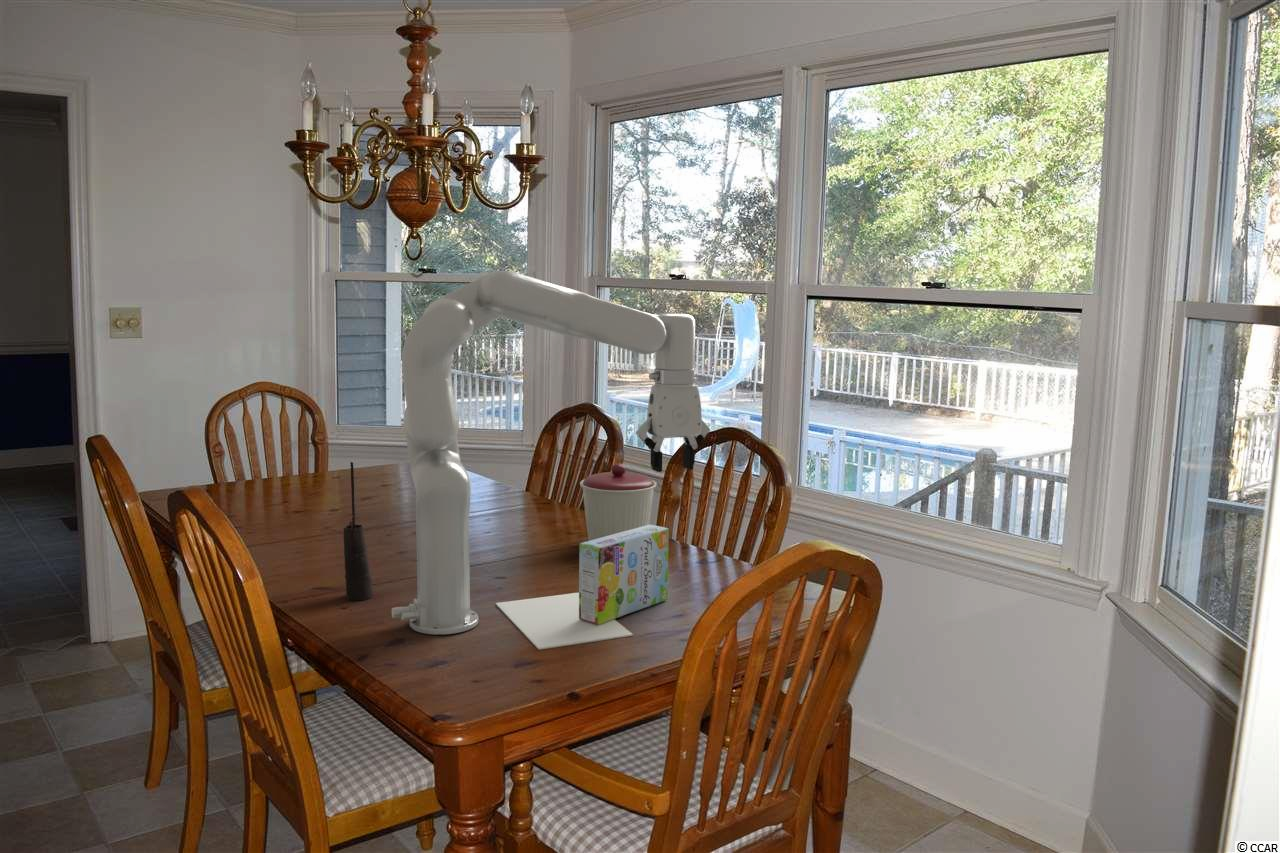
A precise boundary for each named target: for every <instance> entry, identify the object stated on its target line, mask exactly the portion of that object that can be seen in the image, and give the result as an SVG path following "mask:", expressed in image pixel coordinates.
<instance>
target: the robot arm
mask: <svg viewBox="0 0 1280 853" xmlns="http://www.w3.org/2000/svg"><path fill="white" fill-rule="evenodd" d="M500 318H502V319H506V320H509V321H513V322H517V323H520V324H524V325H527V326H531V327H535V328H537V329H542V330H545V331H549V332H552V333H555V334H558V335H559V334H560V335H563V336H566V337H567V336H568V337H571V338H577V339H585V340H588V341H593V342H598V343H601V344H602V343H603V344H606V345H609V346H613V347H617V348H620V349H623V350H625V351H629V352H632V353H638V354H641V355H651V354H654V353H655V364H654V366H655V368H654V369H653V370H654V371H653V372H649V374H648V379H649V380H653V382H654V384H652V385H651V389H650V393H649V398H648V404H647V415H646V420H645V421H644V422H643V423H642V425H640V427H638V429H636V431H635V435H636V436H637V437H638V438H639V439H640V440H641V441H642V442H643V443H644V445H646V446H647V448H648V449H649V450H650V467H651V470H653V471H655V472H656V473H661V472H662V471H663V451H661V447H662V445H663V442H664V440H665V439H674V438H683V441H684V444H685V446H684V447H683V449H682V467H683V468H685V469H687V470H690V471H691V470H692V471H693V469H694V465H695V463H696V462H695V459H696V458H695V457H696V455H695V454H696V450H697V448H698V447H699V446H698V445H700V444H701V442H702V441H703V440H704V438H705V437H706V436H707V435H708V433H709V432H710V431H711V429H710V427H709V425H707V424H706V423H705V422H704V420H703V417H702V416H703V415H702V402H701V396H700V390H699V386H698V384H695V356H696V354H695V353H696V352H695V350H696V346H695V344H696V319H695V318H694V316H693V315H691V314H687V313H662V314H652V313H649V312H645V311H642V310H638V309H635V308H632V307H629V306H625V305H622V304H619V303H614V302H611V301H608V300H605V299H601V298H598V297H596V296H592V295H591V294H588V293H585V292H582V291H579V290H576V289H573V288H570V287H565V286H562V285H559V284H555V283H551V282H548V281H546V280H545V281H544V280H543V279H538V278H535V277H531V276H528V275H525V274H521V273H517V272H515V271H510V270H495V271H494V270H493V271H491V272H488V273H486V274H484V275H482V276H481V277H479V278H477V279H475V280H474V281H472V282H469V283H468V284H467V283H466V285H463V286H461V287H460V288H457V289H456V290H454V291H451V292H450V293H447V294H445V295H443V296H442V297H439V298H437V299H434V301H432V302H431V303H429V304H428V306H427V307H425V310H424V312H423V314H422V316H421V317H419V319H418V320H417V321H416V322H415V323H414V324H413V326H412V327H411V329H410V330H409V333H408V334H407V336H406V339H405V341H404V343H403V348H402V353H401V369H402V370H401V371H402V380H403V388H404V397H405V403H406V405H405V406H406V407H405V410H404V413H403V426H404V427H403V428H404V433H405V434H404V435H405V439H406V446H407V447H406V448H407V454H408V461H409V466H410V467H409V468H410V472H411V478H412V482H413V484H414V488H415V494H416V495H415V496H416V499H415V500H416V502H415V503H416V505H415V506H416V510H415V512H416V513H415V515H416V516H415V518H416V519H415V520H416V521H415V522H416V525H415V530H416V531H415V534H416V535H415V537H416V538H415V539H416V571H417V573H416V578H417V579H416V580H417V583H416V584H417V598H413V603H409V604H408V606H396V607H392V608H391V617H392V619H397V618H398V619H399V618H401V621H406V620H407V621H408V620H409V627H410V628H411V629H412V630H413V631H415V632H418V633H420V634H425V635H435V636H436V635H437V636H438V635H440V636H441V635H453V634H458V633H459V634H460V633H464V632H466V631H469V630H472V629H473V628H475V627H476V626H477V625H478V623H479V614H478V613H477V612H476V611H474V610H473V609H471V593H470V592H471V590H470V589H471V588H470V587H471V583H470V582H471V581H470V580H471V578H470V574H471V573H470V568H471V566H470V508H471V507H470V506H471V494H472V493H471V482H470V481H471V480H470V478H469V474H468V472H467V470H466V468H465V467H464V465H463V464H462V462H461V461H462V460H461V455H460V448H459V441H458V434H459V428H460V420H459V414H458V413H457V412H458V411H457V407H456V401H455V395H454V389H453V378H452V370H451V369H452V368H451V364H452V358H453V355H454V353H455V351H456V350H457V349H458V348H459V347H461V346H462V345H463V344H465V343H466V342H467V341H468V340H469V339H470V337H471V336H472V335H473V333H474V332H476V331H477V330H479V329H482V328H483V327H485V326H488V325H490V324H491V323H493V322H495V321H496V320H498V319H500ZM647 433H648V434H649V435H652V436H651V437H649V436H648V434H647Z"/></svg>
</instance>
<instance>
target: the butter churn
mask: <svg viewBox="0 0 1280 853" xmlns="http://www.w3.org/2000/svg"><path fill="white" fill-rule="evenodd" d="M349 463H350V481H351V482H350V486H351V511H352V512H351V516H352V517H351V521H350V522H349V524H347V525H345V526H343V549H344V550H343V551H344V552H343V555H344V570H345V575H344V578H345V594H346V596H345V598H346V599H347V600H348V601H355V602H357V601H366V600H368V599H371V598H372V597H373V596H374V595H373V584H372V583H373V582H372V578H371V576H372V575H371V570H370V565H369V559H368V558H369V557H368V556H369V555H368V550H367V546H366V540H365V539H366V537H365V532H364V526H363V524H357V523H356V509H355V505H356V504H355V478H354V477H355V473H354V472H355V471H354V462H353V461H351V462H349Z"/></svg>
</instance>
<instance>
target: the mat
mask: <svg viewBox="0 0 1280 853" xmlns="http://www.w3.org/2000/svg"><path fill="white" fill-rule="evenodd" d="M495 605H496V607H497V608H499V610H500V611H501V612H502V613H503V614H504V615H505V616H506V617H507V618H508V619H509V620H510V621H511V622H512V623H513V624H514V625H515V626H516V627H517V629H519V631H520V632H521V633H522V634H523V635H524V636H525V637H526V638H527V639H528V640H529V642H531V643H532V645H533V646H535V648H536V649H537V650H539V651H541V650H546V649H547V650H548V649H553V648H561V647H566V646H572V645H573V646H574V645H580V644H586V643H593V642H600V641H605V640H606V641H607V640H612V639H620V638H626V637H627V638H628V637H633V635H634V634H633V633H632V632H631V631H630V630H628V629H627V628H626V627H625V626H624V625H622V624H621V623H619V622H618V621H617V620H616V618H615V619H613V620H610V621H607V622H604V623H602V624H599V625H597V624H594V623H591V622H588V621H584V620H581V619H579V592H571V593H564V594H557V595H549V596H540V597H534V598H525V599H517V600H510V601H502V602H500V601H499V602H495Z"/></svg>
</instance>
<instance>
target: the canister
mask: <svg viewBox="0 0 1280 853" xmlns="http://www.w3.org/2000/svg"><path fill="white" fill-rule="evenodd" d="M579 485H580V487H581V488H582V494H583V495H582V496H583V503H584V504H583V505H584V515H585V523H586V524H585V525H586V530H587V539H588V541H591V540H594V539H598V538H602V537H605V536H609V535H613V534H616V533H620V532H624V531H628V530H631V529H635V528H639V527H642V526H646V525H650V522H651V515H652V514H651V513H652V506H653V498H654V490H655V488H656V487H657V482H656V481H655V480H653V479H651V478H650V476H648V475H645V474H641V473H635V472H628V471H627V467H626V466H625V464H623V463H620V462H619V463H614V464H613V465H611V468H610V472H609V471H607V472H606V471H605V472H598V473H595V474H594V473H593V474H590V475H588V476H586V478H584V479H582V480H581V481H580V482H579Z"/></svg>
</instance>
